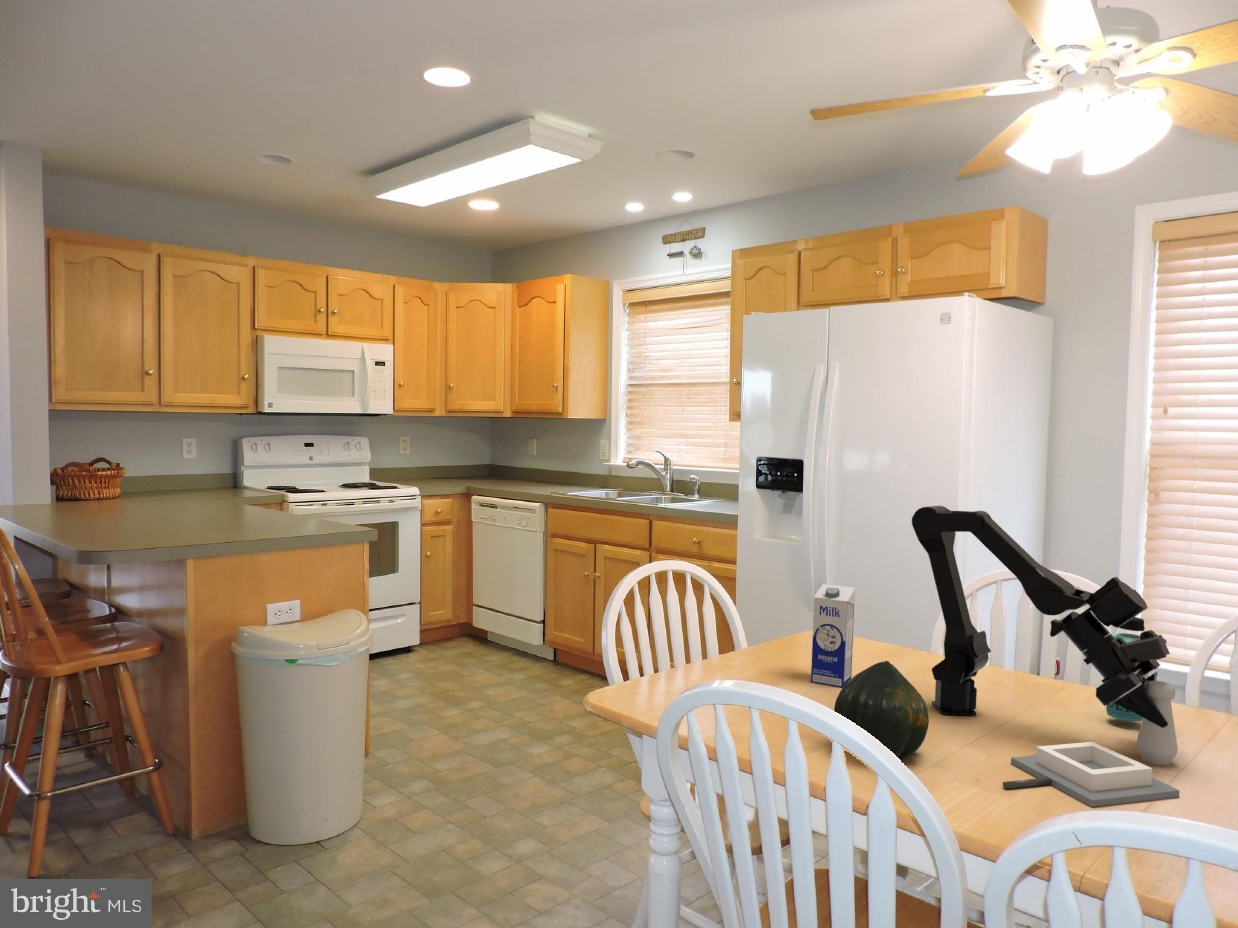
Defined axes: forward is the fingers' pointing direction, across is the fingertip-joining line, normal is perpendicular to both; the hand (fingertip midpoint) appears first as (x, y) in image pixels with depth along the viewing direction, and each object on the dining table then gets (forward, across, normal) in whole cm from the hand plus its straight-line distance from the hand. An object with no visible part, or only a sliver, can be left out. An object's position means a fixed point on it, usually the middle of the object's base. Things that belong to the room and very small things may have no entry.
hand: (1168, 723), depth 138 cm
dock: (-2, -20, +11) cm, 23 cm away
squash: (-20, -30, +30) cm, 47 cm away
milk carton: (-38, -1, +47) cm, 61 cm away
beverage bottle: (-2, +17, +12) cm, 21 cm away
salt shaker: (+4, 0, +6) cm, 7 cm away
